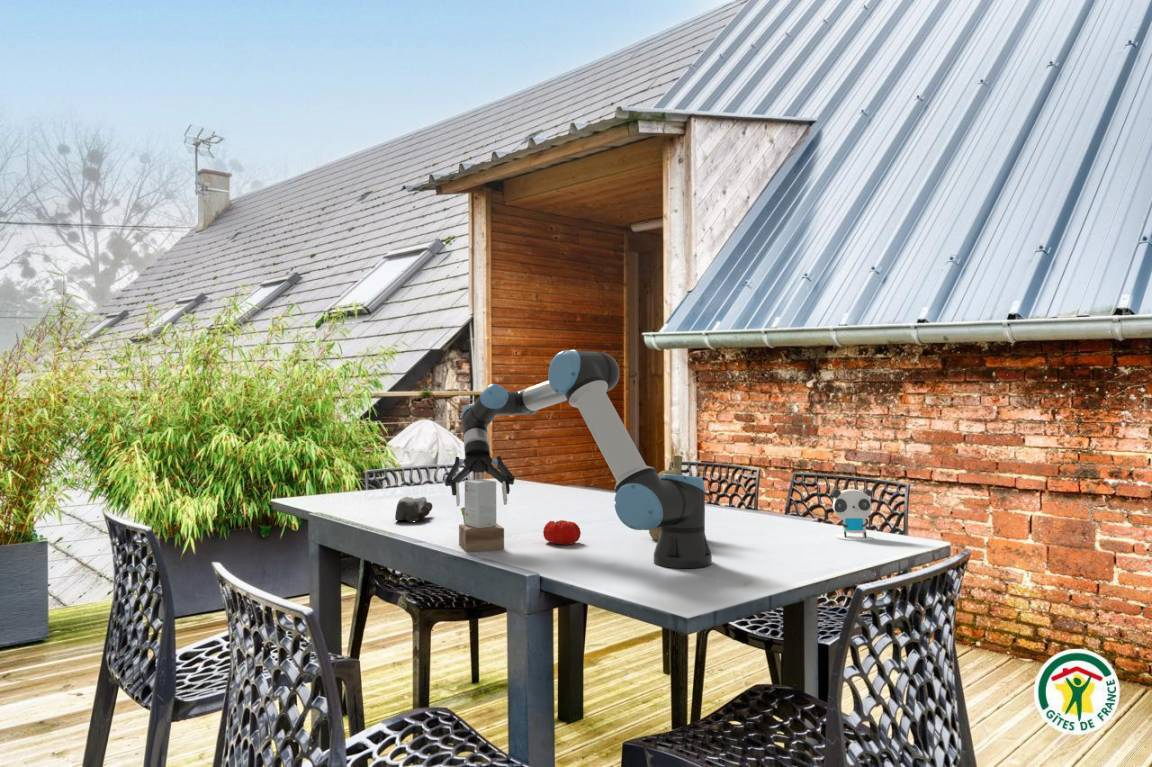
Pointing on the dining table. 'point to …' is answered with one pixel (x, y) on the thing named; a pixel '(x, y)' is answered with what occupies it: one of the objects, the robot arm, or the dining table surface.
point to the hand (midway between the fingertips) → (482, 502)
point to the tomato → (561, 532)
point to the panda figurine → (852, 513)
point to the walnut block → (481, 538)
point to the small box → (480, 503)
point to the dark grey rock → (412, 508)
